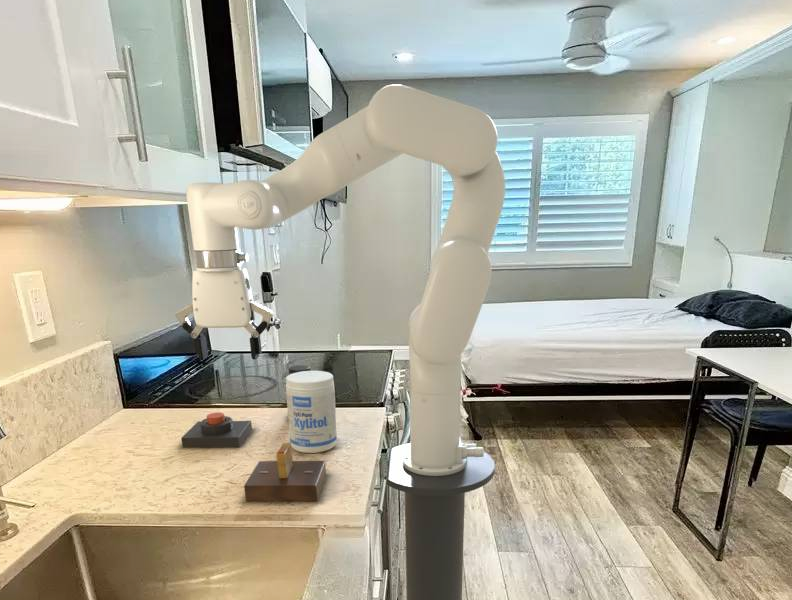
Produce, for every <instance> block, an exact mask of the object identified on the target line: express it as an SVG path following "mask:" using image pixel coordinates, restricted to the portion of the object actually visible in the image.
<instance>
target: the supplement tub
mask: <svg viewBox="0 0 792 600" xmlns="http://www.w3.org/2000/svg"><path fill="white" fill-rule="evenodd" d="M285 380H286V381H285V396H286V405H287V406H286V408H287V420H288V433H289V443H291V449H293V450H295V451H297V452H299V453H305V454H319V453H323V452H326V451H329V450H331V449H333V448H334V447H335V446H336V445H337V442H338V436H337V412H336V409H337V408H336V391H335V389H336V388H335V381H334V375H333V374H332V373H331V372H329V371H324V370H310V371H302V372H297V373H293V374H290V375H289V374H288V375H287V376H286V377H285Z"/></svg>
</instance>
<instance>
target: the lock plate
mask: <svg viewBox="0 0 792 600" xmlns="http://www.w3.org/2000/svg"><path fill="white" fill-rule="evenodd" d="M292 461H293V467H292V469H291V471H290V473H289V475H288V477H287V478H279V473H278V464H277V460H266V461H265V460H260V461H258V463H257V464H256V466H255V467H254V468H253V470H252V472H251V474H250V476H249V477H248V479H247V480H246V481H245V484H244V485H243V488H244V494H245V501H246V503H247V502H248V503H249V502H251V503H253V502H255V503H256V502H260V503H261V502H262V503H263V502H266V503H267V502H268V503H269V502H271V503H272V502H318V501H319V498H320V495H321V492H322V489H323V486H324V483H325V480H326V477H327V468H326V461H325V460H292Z"/></svg>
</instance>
